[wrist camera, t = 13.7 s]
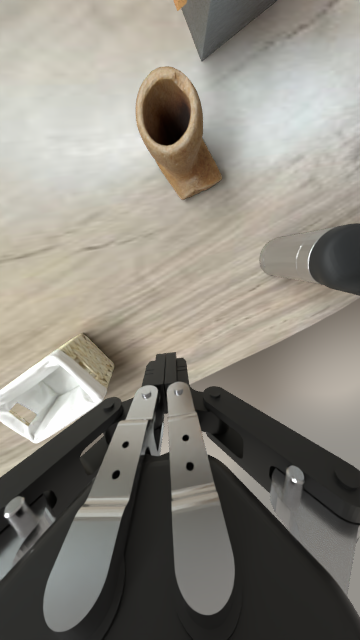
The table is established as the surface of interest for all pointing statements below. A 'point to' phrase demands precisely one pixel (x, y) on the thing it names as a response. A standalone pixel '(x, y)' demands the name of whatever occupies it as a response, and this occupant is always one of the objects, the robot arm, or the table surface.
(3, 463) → the table surface
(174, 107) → the stone cup
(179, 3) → the sliding latch bolt
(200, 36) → the latch bracket
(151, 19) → the table surface
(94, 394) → the storage basket
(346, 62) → the table surface
